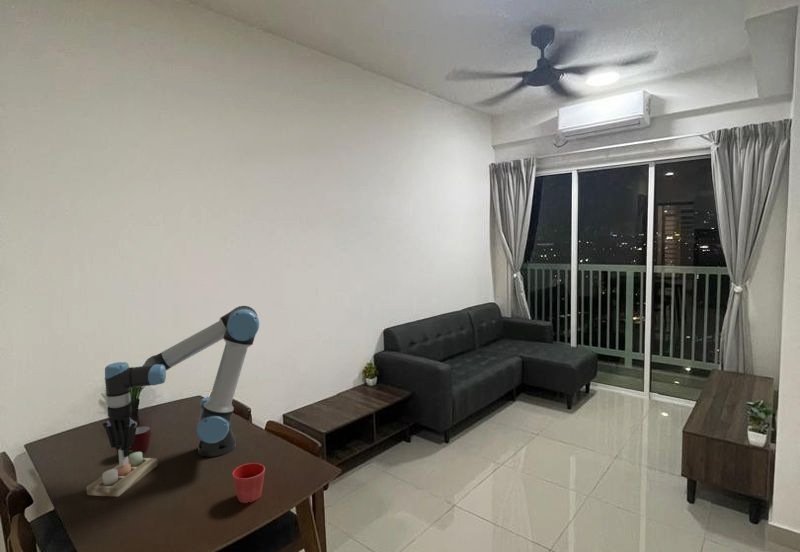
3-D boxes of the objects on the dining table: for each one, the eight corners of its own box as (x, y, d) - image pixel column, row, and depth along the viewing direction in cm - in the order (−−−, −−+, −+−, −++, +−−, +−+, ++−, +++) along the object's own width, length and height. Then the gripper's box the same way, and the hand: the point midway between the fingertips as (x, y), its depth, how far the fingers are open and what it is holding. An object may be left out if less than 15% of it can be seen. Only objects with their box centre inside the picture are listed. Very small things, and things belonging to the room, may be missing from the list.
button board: (157, 465, 171) (156, 458, 171) (118, 496, 151) (117, 488, 150) (129, 464, 173) (129, 457, 172) (87, 495, 152) (86, 487, 151)
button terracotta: (134, 472, 163) (133, 463, 163) (125, 478, 159) (124, 469, 159) (122, 471, 164) (122, 462, 164) (113, 478, 159) (113, 469, 159)
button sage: (145, 460, 170) (144, 451, 170) (137, 466, 165) (136, 457, 165) (134, 459, 170) (134, 451, 170) (126, 465, 166) (125, 457, 165)
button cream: (121, 478, 157) (120, 469, 157) (111, 485, 152) (111, 476, 152) (109, 477, 157) (109, 468, 157) (99, 484, 153) (99, 475, 152)
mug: (125, 461, 175) (123, 438, 174) (120, 455, 180) (119, 432, 180) (154, 452, 182) (152, 430, 181) (148, 446, 188) (147, 424, 187)
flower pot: (254, 484, 157) (253, 459, 156) (271, 495, 150) (270, 469, 149) (227, 498, 149) (226, 471, 148) (244, 510, 142) (243, 482, 141)
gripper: (142, 400, 162) (146, 459, 164) (110, 400, 164) (115, 458, 165) (128, 408, 155) (132, 470, 157) (95, 407, 156) (100, 469, 158)
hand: (124, 464), depth 161 cm, fingers closed
